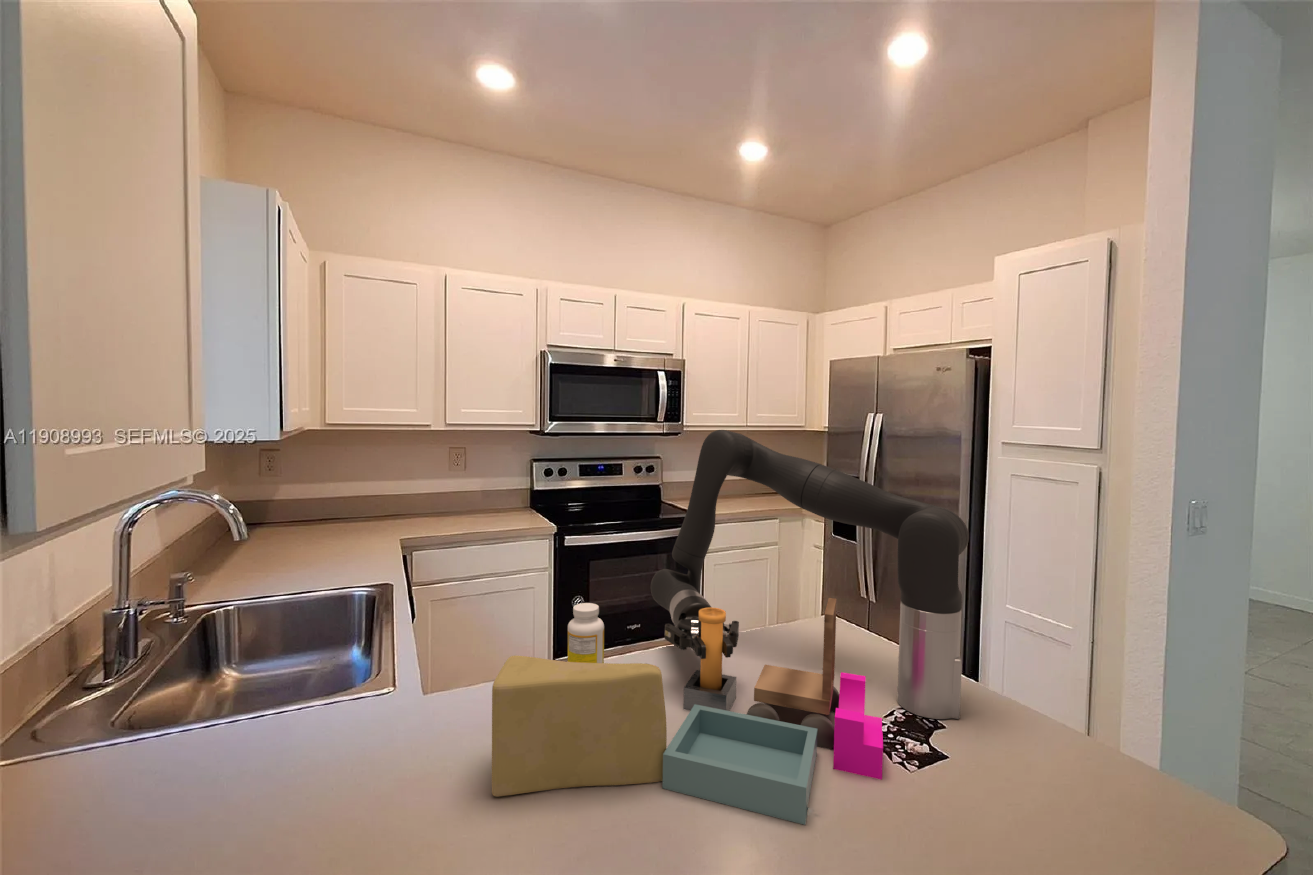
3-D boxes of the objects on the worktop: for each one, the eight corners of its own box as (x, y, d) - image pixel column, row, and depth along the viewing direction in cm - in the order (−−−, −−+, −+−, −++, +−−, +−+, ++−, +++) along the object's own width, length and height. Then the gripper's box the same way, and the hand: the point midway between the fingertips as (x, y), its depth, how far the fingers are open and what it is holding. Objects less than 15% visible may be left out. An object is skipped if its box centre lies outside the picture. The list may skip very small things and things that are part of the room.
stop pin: (726, 698, 97) (728, 609, 96) (720, 711, 93) (722, 618, 92) (701, 693, 99) (703, 606, 98) (693, 705, 94) (695, 614, 94)
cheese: (665, 757, 82) (667, 652, 82) (666, 803, 73) (668, 684, 72) (508, 754, 82) (508, 650, 82) (488, 800, 73) (489, 682, 72)
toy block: (881, 781, 78) (883, 726, 78) (833, 770, 80) (834, 717, 80) (880, 725, 92) (882, 679, 92) (839, 717, 94) (840, 672, 94)
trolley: (839, 715, 95) (843, 595, 94) (834, 756, 83) (838, 620, 82) (759, 699, 99) (762, 585, 98) (744, 737, 87) (747, 608, 87)
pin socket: (735, 703, 98) (736, 677, 98) (725, 723, 91) (726, 695, 91) (695, 695, 100) (696, 669, 100) (683, 715, 94) (683, 687, 94)
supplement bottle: (584, 664, 112) (585, 598, 111) (611, 674, 108) (612, 605, 107) (559, 677, 106) (560, 607, 106) (586, 687, 103) (587, 615, 102)
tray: (816, 760, 82) (817, 728, 82) (805, 825, 69) (806, 788, 69) (694, 733, 88) (694, 704, 88) (662, 788, 75) (663, 754, 75)
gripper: (655, 596, 108) (673, 631, 91) (729, 593, 110) (759, 627, 93) (654, 636, 108) (672, 678, 91) (728, 632, 111) (758, 673, 94)
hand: (716, 652), depth 93 cm, fingers closed on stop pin, 3 cm apart
